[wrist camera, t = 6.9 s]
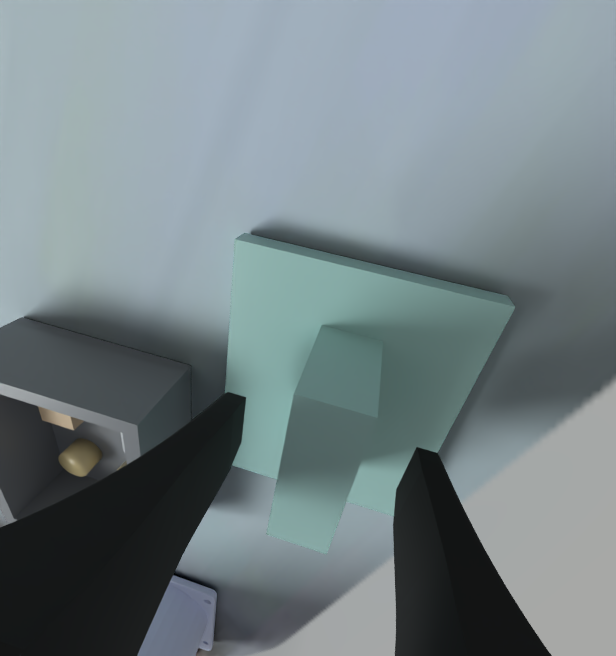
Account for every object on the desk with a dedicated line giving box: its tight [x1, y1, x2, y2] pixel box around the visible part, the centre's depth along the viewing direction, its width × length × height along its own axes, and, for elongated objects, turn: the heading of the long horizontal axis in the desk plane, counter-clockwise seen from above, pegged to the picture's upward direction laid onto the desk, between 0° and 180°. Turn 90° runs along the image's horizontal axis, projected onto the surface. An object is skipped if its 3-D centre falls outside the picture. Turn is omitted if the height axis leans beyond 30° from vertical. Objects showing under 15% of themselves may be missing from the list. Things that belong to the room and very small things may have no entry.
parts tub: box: [0, 317, 191, 523], centre depth 16 cm, size 10×8×4 cm
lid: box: [225, 233, 515, 554], centre depth 12 cm, size 10×8×5 cm
